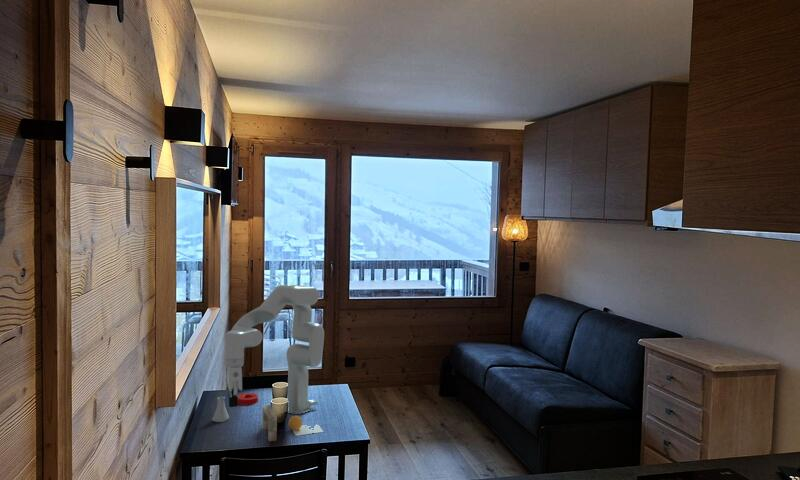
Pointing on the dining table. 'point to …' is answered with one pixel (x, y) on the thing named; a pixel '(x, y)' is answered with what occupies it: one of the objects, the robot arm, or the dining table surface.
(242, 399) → the decorative ornament
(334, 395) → the dining table surface
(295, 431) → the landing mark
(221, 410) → the flask
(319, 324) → the robot arm
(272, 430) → the bridge
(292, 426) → the ball
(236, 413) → the dining table surface
